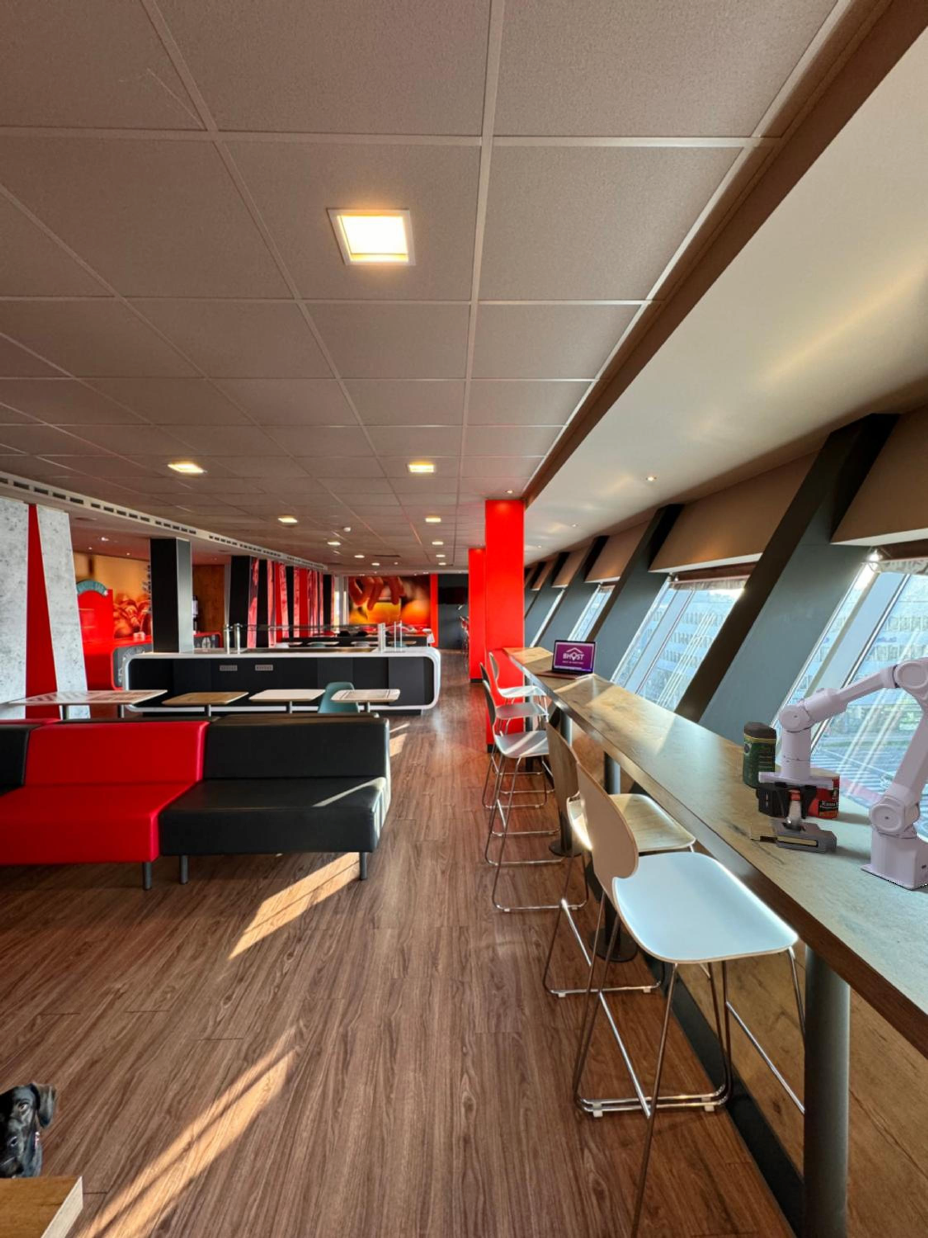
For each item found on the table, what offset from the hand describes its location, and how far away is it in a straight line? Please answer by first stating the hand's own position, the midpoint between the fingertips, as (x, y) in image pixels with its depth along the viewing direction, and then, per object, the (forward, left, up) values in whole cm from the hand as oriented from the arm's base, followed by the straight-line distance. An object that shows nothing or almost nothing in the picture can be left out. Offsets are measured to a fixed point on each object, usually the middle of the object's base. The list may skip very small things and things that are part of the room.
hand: (793, 816), depth 128 cm
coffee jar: (+33, -28, -6) cm, 44 cm away
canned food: (+10, -23, -6) cm, 26 cm away
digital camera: (+15, -14, -6) cm, 22 cm away
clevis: (0, 0, -6) cm, 6 cm away
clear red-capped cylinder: (0, 0, -3) cm, 3 cm away
